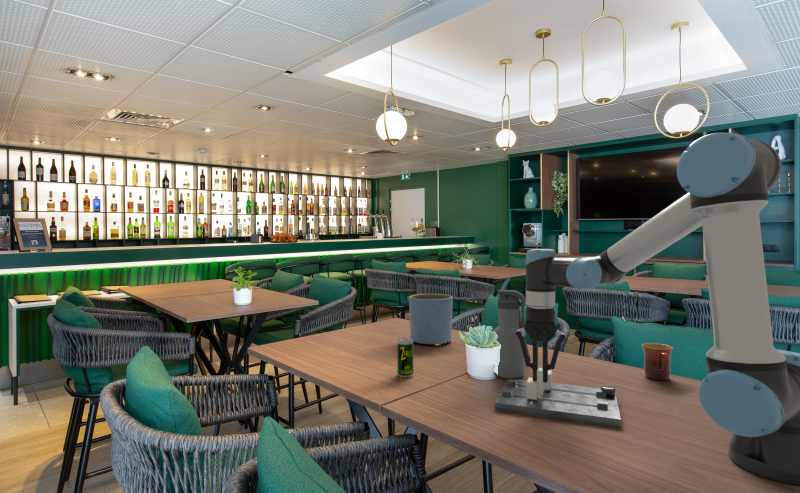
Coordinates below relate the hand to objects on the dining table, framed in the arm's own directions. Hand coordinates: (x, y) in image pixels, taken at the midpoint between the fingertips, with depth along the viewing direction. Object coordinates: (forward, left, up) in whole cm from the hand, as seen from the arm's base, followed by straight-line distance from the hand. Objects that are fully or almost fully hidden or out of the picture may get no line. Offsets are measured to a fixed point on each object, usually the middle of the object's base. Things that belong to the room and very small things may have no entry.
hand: (540, 393), depth 120 cm
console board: (+4, -4, -4) cm, 7 cm away
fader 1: (0, +2, -1) cm, 2 cm away
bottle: (+43, +13, -4) cm, 45 cm away
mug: (+37, -33, -4) cm, 50 cm away
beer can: (+12, +44, -4) cm, 46 cm away
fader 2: (+9, -1, -1) cm, 9 cm away
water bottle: (+25, +12, -4) cm, 28 cm away
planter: (+60, +51, -4) cm, 79 cm away
